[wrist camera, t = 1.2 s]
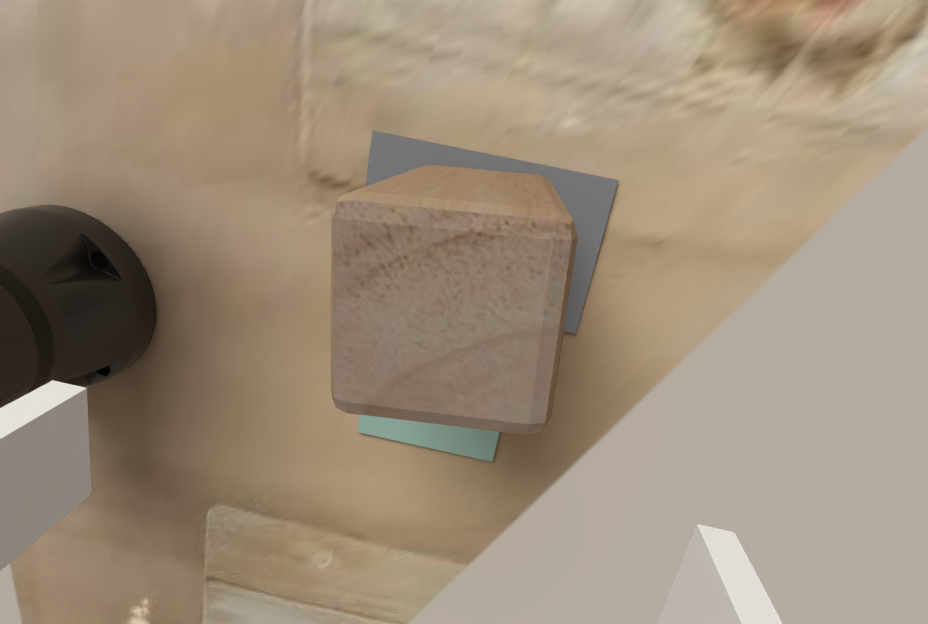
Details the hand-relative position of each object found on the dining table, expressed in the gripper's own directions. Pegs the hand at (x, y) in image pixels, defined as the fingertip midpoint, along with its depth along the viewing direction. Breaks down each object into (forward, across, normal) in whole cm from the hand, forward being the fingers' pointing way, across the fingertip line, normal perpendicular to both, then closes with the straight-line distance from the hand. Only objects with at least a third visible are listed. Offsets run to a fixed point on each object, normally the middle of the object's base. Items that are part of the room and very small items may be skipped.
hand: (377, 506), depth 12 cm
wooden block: (+31, 0, 0) cm, 32 cm away
